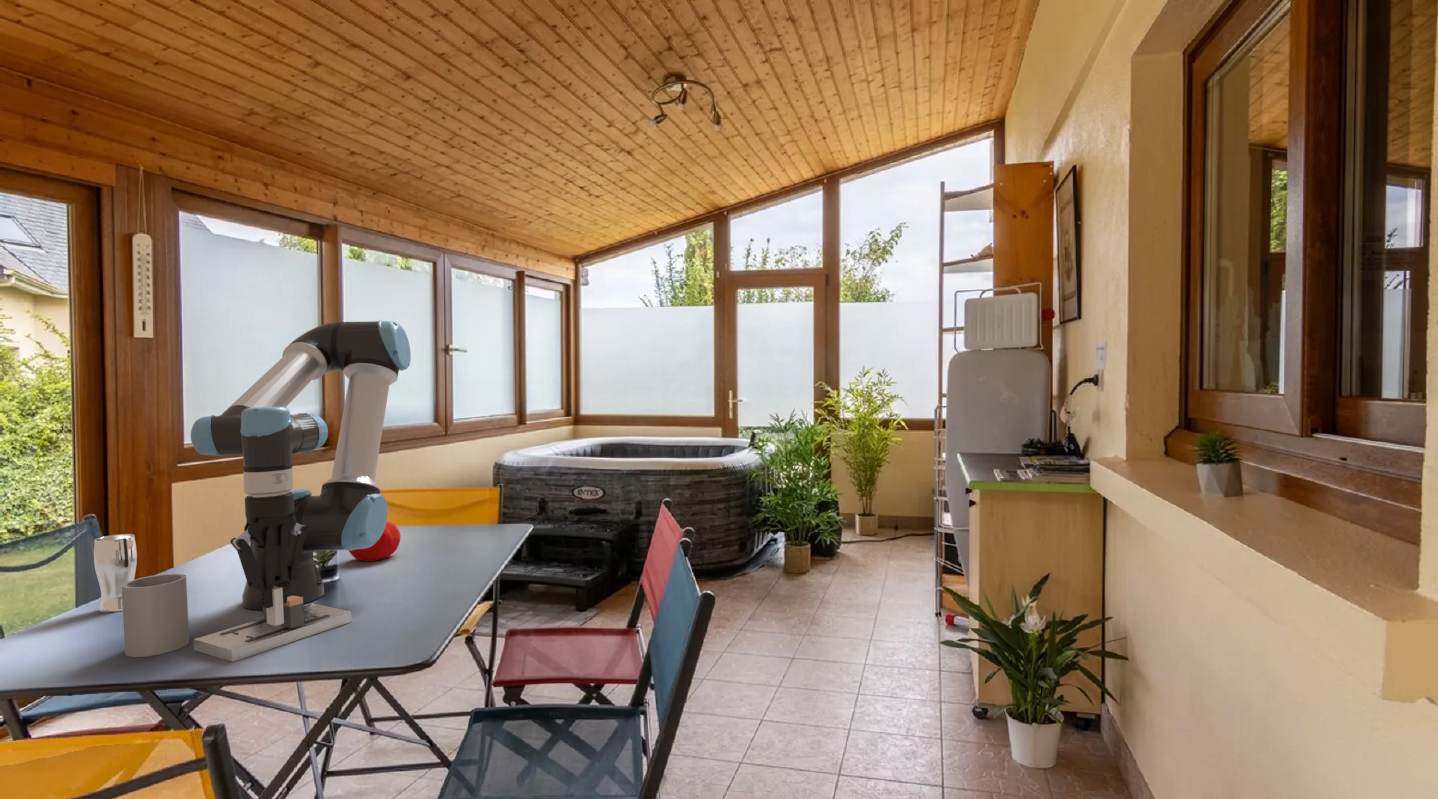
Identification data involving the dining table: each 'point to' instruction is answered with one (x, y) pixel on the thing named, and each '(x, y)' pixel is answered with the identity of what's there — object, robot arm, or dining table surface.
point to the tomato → (380, 545)
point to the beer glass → (114, 568)
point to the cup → (155, 614)
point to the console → (269, 634)
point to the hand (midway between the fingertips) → (275, 623)
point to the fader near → (293, 612)
